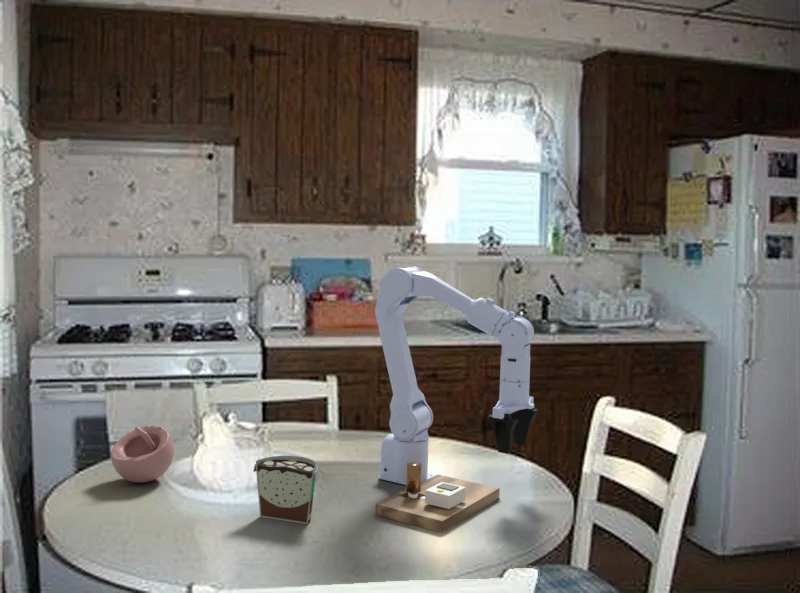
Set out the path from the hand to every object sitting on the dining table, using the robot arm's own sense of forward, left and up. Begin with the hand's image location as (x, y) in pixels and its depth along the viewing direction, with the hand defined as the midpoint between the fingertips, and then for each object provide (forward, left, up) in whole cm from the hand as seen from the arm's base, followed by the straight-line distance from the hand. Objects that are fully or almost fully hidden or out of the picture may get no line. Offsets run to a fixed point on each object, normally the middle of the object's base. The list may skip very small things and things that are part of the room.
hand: (512, 448), depth 151 cm
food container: (-27, -34, -10) cm, 44 cm away
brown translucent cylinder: (-12, -17, -9) cm, 23 cm away
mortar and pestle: (-63, -38, -10) cm, 74 cm away
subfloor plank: (-8, -14, -9) cm, 19 cm away
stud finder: (-5, -17, -7) cm, 19 cm away
